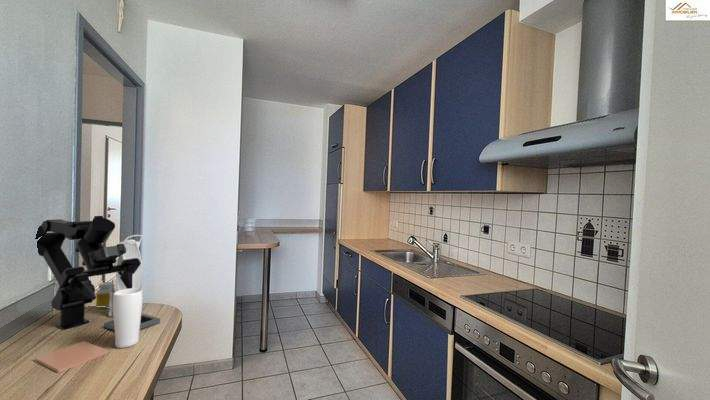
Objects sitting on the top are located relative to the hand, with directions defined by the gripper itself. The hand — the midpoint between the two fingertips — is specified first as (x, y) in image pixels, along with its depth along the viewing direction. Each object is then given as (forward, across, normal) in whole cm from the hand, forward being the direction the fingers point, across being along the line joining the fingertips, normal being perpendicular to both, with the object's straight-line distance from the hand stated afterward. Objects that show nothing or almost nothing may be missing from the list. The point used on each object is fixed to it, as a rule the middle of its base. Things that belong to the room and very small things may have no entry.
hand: (113, 294), depth 87 cm
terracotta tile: (+11, -10, +8) cm, 17 cm away
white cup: (+14, 0, +4) cm, 15 cm away
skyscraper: (-3, +13, +22) cm, 25 cm away
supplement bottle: (-11, +12, +30) cm, 34 cm away
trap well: (+6, +8, +13) cm, 16 cm away
